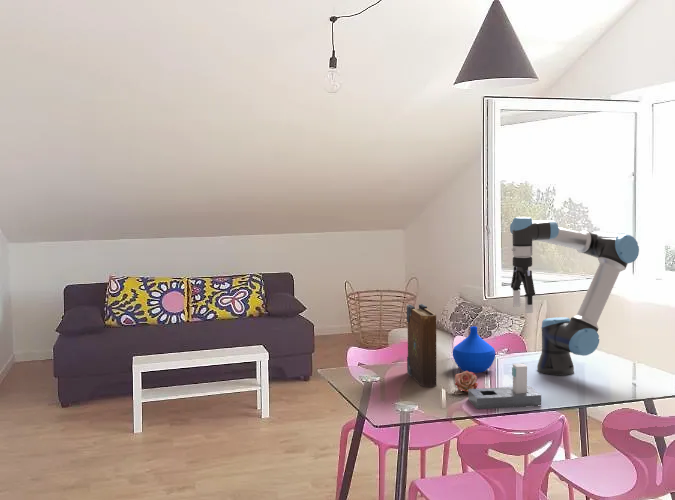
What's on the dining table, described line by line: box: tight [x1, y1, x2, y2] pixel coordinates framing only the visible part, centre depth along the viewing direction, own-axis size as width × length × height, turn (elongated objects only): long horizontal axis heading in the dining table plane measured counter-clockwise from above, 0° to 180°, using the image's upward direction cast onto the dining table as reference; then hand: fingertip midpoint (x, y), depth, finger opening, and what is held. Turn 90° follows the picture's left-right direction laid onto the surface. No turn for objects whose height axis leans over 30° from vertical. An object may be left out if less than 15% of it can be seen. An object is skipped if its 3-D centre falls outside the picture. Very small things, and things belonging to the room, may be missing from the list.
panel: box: [467, 385, 542, 410], centre depth 278 cm, size 24×12×4 cm, turn 95°
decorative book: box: [406, 303, 437, 388], centre depth 311 cm, size 23×7×30 cm, turn 10°
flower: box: [454, 371, 479, 393], centre depth 293 cm, size 10×9×8 cm
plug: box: [511, 363, 528, 394], centre depth 278 cm, size 5×4×14 cm
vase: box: [452, 325, 496, 374], centre depth 325 cm, size 18×18×19 cm
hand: (522, 309), depth 296 cm, fingers open, 13 cm apart
